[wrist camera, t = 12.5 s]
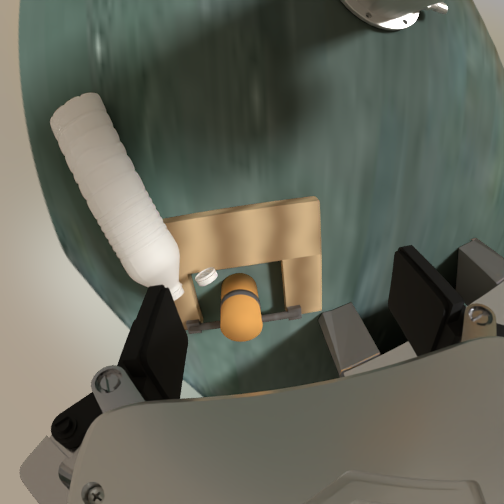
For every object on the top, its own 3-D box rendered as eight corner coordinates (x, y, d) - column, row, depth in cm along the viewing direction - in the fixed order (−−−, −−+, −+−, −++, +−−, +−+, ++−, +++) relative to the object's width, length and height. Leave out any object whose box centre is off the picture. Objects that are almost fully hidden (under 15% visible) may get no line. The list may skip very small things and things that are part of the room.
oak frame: (314, 196, 35) (322, 203, 32) (318, 302, 42) (323, 315, 39) (139, 223, 35) (132, 232, 32) (171, 323, 42) (168, 337, 39)
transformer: (466, 349, 54) (542, 469, 17) (351, 410, 57) (398, 559, 21) (477, 233, 39) (633, 382, 3) (314, 314, 43) (404, 587, 6)
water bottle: (63, 128, 27) (156, 298, 35) (39, 121, 21) (150, 322, 29) (121, 89, 28) (216, 265, 36) (107, 72, 22) (220, 285, 30)
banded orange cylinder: (255, 270, 39) (260, 306, 31) (259, 300, 41) (265, 338, 34) (217, 275, 39) (215, 312, 31) (224, 305, 41) (223, 344, 34)
